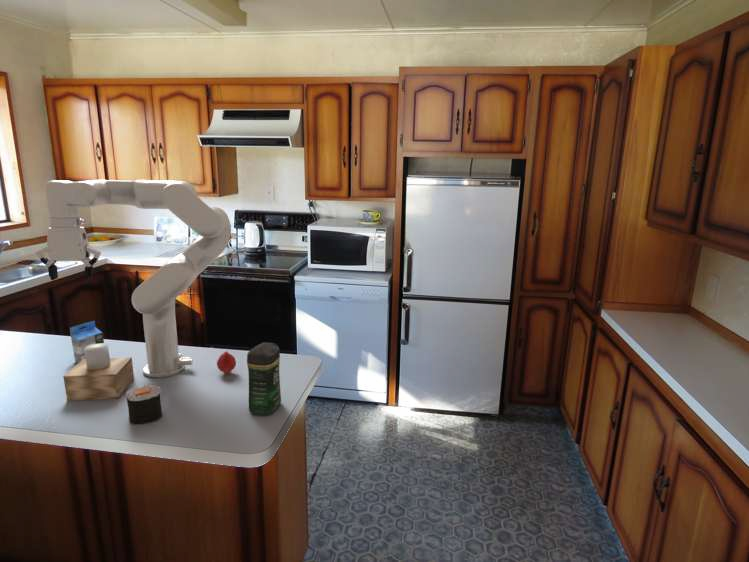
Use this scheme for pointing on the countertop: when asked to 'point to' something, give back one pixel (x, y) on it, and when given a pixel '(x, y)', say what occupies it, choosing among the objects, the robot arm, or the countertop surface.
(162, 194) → the robot arm
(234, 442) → the countertop surface
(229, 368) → the onion
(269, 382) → the coffee jar
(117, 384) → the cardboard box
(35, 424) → the countertop surface
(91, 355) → the cream-capped white cylinder
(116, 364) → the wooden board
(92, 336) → the label tape box
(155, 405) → the sushi
